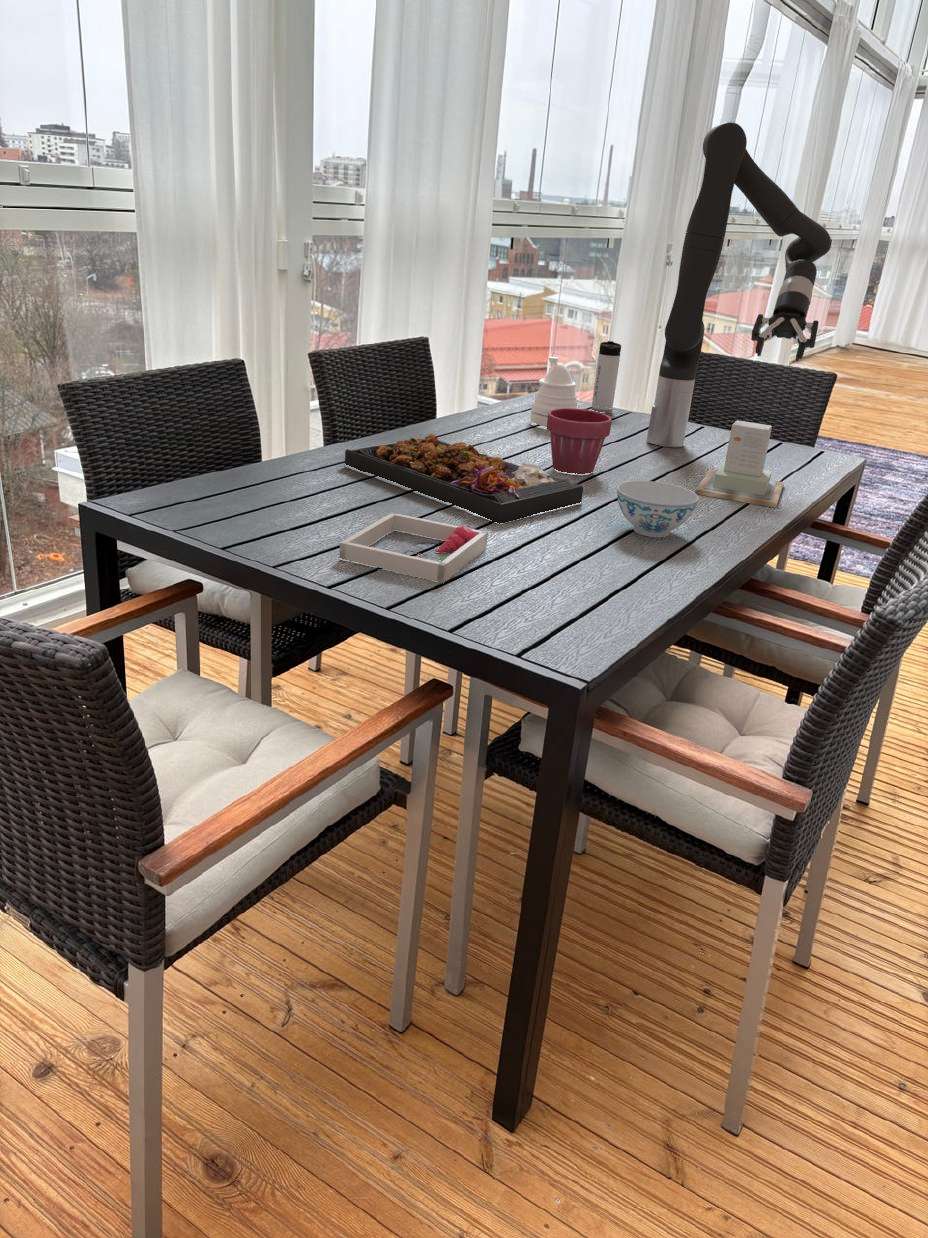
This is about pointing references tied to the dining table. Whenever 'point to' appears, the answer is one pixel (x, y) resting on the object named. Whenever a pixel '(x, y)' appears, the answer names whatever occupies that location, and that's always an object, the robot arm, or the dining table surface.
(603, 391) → the travel mug
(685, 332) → the robot arm
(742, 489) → the plinth
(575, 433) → the plant pot
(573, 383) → the honey pot
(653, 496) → the chinaware
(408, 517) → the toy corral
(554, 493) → the food platter
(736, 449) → the small box
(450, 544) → the toy pieces
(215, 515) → the dining table surface
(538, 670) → the dining table surface
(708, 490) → the board
